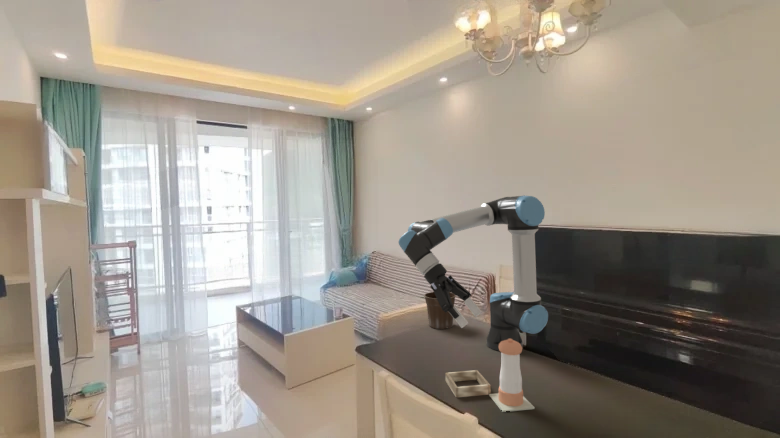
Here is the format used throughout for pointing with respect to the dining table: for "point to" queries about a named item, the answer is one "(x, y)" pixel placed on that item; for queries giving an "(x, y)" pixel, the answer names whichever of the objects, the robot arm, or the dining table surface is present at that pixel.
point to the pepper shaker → (510, 373)
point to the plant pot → (438, 312)
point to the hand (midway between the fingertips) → (472, 320)
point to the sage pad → (504, 408)
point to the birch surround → (468, 390)
